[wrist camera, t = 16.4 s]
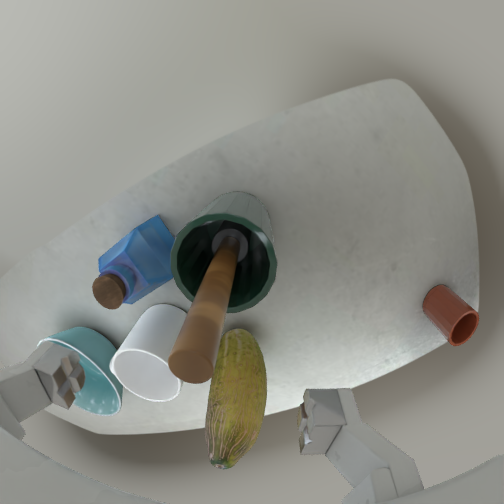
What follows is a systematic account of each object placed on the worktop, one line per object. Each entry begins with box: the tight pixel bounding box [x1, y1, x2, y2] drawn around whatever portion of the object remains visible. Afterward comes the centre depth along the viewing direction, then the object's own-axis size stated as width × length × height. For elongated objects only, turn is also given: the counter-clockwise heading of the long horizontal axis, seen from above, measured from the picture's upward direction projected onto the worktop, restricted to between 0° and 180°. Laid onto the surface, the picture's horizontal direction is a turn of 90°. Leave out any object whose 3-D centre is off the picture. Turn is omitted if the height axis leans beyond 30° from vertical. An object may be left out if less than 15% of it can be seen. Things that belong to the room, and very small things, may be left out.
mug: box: [109, 304, 187, 402], centre depth 31 cm, size 12×8×10 cm
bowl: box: [37, 327, 123, 416], centre depth 35 cm, size 16×16×8 cm
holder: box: [423, 285, 479, 346], centre depth 30 cm, size 5×5×8 cm
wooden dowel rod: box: [168, 220, 251, 384], centre depth 20 cm, size 3×3×22 cm
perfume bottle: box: [92, 215, 175, 309], centre depth 27 cm, size 6×6×12 cm
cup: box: [171, 192, 277, 313], centre depth 25 cm, size 7×8×13 cm
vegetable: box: [205, 329, 267, 469], centre depth 27 cm, size 6×6×20 cm
